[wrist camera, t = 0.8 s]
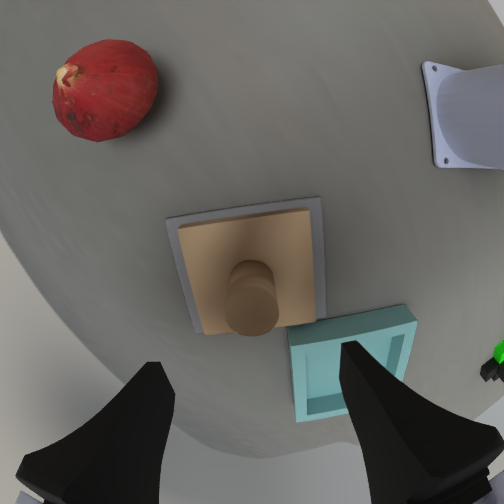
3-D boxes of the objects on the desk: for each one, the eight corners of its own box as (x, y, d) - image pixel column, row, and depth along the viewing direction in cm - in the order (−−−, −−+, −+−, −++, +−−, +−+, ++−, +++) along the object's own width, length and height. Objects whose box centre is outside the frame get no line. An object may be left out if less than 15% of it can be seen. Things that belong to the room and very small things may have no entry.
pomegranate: (154, 150, 16) (89, 156, 9) (85, 131, 15) (4, 134, 8) (186, 66, 14) (141, 17, 7) (112, 54, 14) (43, 19, 6)
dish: (404, 303, 20) (417, 320, 18) (387, 383, 24) (395, 400, 22) (286, 325, 21) (290, 346, 19) (293, 403, 25) (296, 422, 22)
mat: (319, 196, 17) (320, 197, 17) (325, 314, 21) (326, 317, 20) (166, 218, 18) (164, 219, 17) (196, 330, 21) (195, 333, 21)
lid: (306, 206, 17) (326, 230, 13) (313, 314, 20) (328, 359, 15) (180, 224, 18) (157, 253, 13) (206, 327, 20) (196, 373, 16)
